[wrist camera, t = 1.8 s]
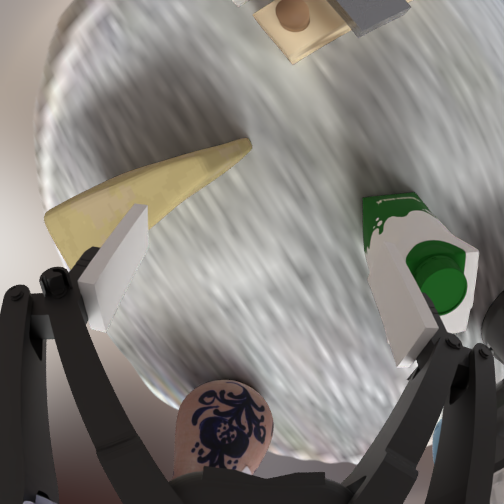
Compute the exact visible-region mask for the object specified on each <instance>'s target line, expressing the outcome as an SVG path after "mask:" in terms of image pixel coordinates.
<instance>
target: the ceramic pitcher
mask: <svg viewBox="0 0 504 504" xmlns="http://www.w3.org/2000/svg"><path fill="white" fill-rule="evenodd" d="M273 427H274V423H273V418H272V414H271V411H270V409H269V406H268V404H267V402H266V401H265V400H264V398H263V397H262V396H261V395H260V394H259V393H258V392H257V391H255V390H254V389H253V388H251V387H249V386H247V385H245V384H243V383H241V382H238V381H233V380H215V381H211V382H208V383H205V384H203V385H201V386H199V387H197V388H195V389H194V390H193V391H192V392H190V393H189V394H188V395H187V396H186V398H185V399H184V400H183V402H182V404H181V406H180V408H179V412H178V416H177V421H176V430H175V451H174V452H175V453H174V471H173V477H172V480H173V479H174V478H176V477H179V476H181V475H184V474H187V473H192V472H198V471H203V467H204V466H209V467H217V468H225V469H234V470H237V471H241V472H244V473H247V474H250V475H253V474H254V472H255V471H256V469H257V468H258V466H259V465H260V463H261V461H262V459H263V458H264V456H265V454H266V452H267V450H268V447H269V445H270V442H271V439H272V435H273Z"/></svg>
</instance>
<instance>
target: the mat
mask: <svg viewBox="0 0 504 504" xmlns="http://www.w3.org/2000/svg"><path fill="white" fill-rule="evenodd" d="M232 1H233V2H234V3H235V4H236V5H237V6H238V7H240V6H241V5H243V4H244V3H246V2H247V1H249V0H232Z"/></svg>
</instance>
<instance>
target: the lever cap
mask: <svg viewBox="0 0 504 504" xmlns="http://www.w3.org/2000/svg"><path fill="white" fill-rule="evenodd" d="M326 1H327V2H328V3H329V4H330V5H331V6H332V7H333V8H334V10H335V11H336V12H337V13H338V14H339V15H340V17H341V18H342V19H343V20H344V21H345V22H346V24H347V25H348V26H349V27H350V29H351V30H352V31H353V32H354V34H355V35H356V36H357V37H358V38H359V37H361V36H363V35H365V34H367V33H369V32H371V31H373V30H374V29H376V28H378V27H380V26H382V25H384V24H386V23H388V22H390V21H392V20H394V19H397V18H399V17H401V16H403V15H404V14H405V13H406V12H407V11H408V10H409V9H410V8H411V6H410V5H409V4H408V3H407V1H406V0H326Z"/></svg>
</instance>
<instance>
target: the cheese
mask: <svg viewBox="0 0 504 504" xmlns="http://www.w3.org/2000/svg"><path fill="white" fill-rule="evenodd" d="M251 149H252V145H251V142H250V140H249V139H248V138H242V139H238V140H235V141H231V142H228V143H225V144H222V145H219V146H214V147H210V148H206V149H202V150H198V151H195V152H191V153H187V154H184V155H180V156H177V157H174V158H170V159H167V160H164V161H160V162H157V163H154V164H150V165H147V166H144V167H140V168H137V169H134V170H131V171H129V172H126V173H123V174H121V175H118V176H116V177H114V178H112V179H109V180H107V181H105V182H103V183H101V184H99V185H97V186H95V187H93V188H91V189H89V190H86V191H84V192H82V193H80V194H78V195H76V196H74V197H72V198H70V199H68V200H67V201H65V202H63V203H61V204H59V205H57V206H55V207H54V208H52V209H50V210H49V211H47V212H46V213H45V216H44V221H45V224H46V227H47V229H48V231H49V233H50V235H51V237H52V239H53V240H54V242H55V244H56V246H57V248H58V249H59V251H60V253H61V255H62V256H63V258H64V260H65V261H66V263H67V265H68V266H69V268H70V270H71V269H72V268H73V266H74V265H75V264H76V262H77V261H78V260H79V258H80V257H81V256H82V254H83V253H84V252H85V251H86V250H88V249H89V248H91V247H92V246H94V247H100V248H101V247H102V245H103V244H104V243H105V241H106V240H107V239H108V237H109V236H110V235H111V233H112V232H113V231H114V229H115V228H116V227H117V225H118V224H119V223H120V221H121V220H122V219H123V218H124V216H125V215H126V214H127V212H128V211H129V210H130V209H131V207H132V206H133V205H134V204H143V205H148V230H149V229H150V228H152V227H153V226H154V225H155V224H156V223H158V222H159V221H160V220H161V219H162V218H164V217H165V216H166V215H167V214H168V213H169V212H171V211H172V210H173V209H174V208H175V207H177V206H178V205H179V204H180V203H182V202H183V201H184V200H186V199H187V198H188V197H190V196H191V195H193V194H194V193H196V192H197V191H199V190H200V189H202V188H203V187H205V186H206V185H208V184H209V183H210V182H212V181H213V180H215V179H216V178H218V177H219V176H221V175H222V174H223V173H225V172H226V171H227V170H229V169H230V168H231V167H233V166H234V165H235V164H236V163H238V162H239V161H240V160H241V159H242V158H243V157H244V156H245V155H246V154H247V153H248V152H249V151H250V150H251Z"/></svg>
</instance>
